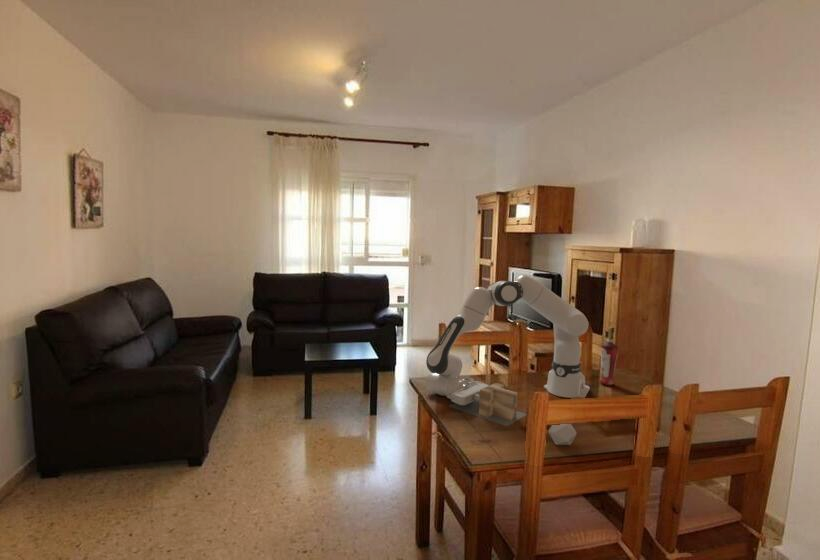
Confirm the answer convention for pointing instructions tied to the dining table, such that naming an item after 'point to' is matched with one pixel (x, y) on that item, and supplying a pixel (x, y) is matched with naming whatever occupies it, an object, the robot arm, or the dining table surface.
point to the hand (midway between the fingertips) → (487, 398)
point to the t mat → (474, 410)
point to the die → (562, 434)
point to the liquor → (608, 359)
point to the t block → (498, 402)
